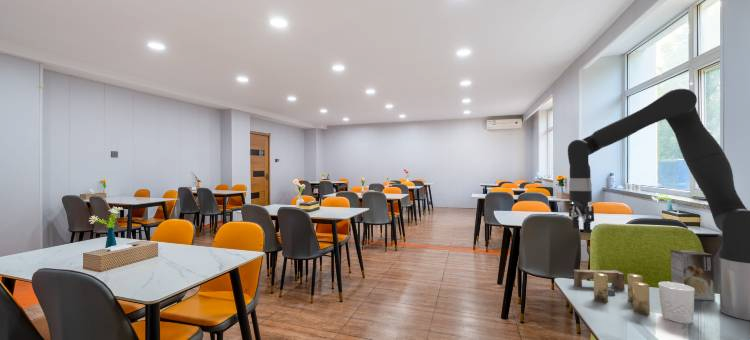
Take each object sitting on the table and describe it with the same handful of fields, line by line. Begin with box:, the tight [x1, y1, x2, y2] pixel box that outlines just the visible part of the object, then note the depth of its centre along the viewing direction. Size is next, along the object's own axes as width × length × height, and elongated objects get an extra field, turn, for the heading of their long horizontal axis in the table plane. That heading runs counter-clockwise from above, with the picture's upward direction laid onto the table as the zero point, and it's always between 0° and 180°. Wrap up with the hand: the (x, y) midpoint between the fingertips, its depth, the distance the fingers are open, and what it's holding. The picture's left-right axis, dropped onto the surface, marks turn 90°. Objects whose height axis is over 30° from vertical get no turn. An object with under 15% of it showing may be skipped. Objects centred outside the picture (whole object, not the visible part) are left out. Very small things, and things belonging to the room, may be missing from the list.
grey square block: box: [608, 286, 616, 296], centre depth 115 cm, size 4×4×2 cm
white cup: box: [658, 281, 695, 325], centre depth 94 cm, size 8×8×10 cm
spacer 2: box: [627, 273, 644, 304], centre depth 107 cm, size 4×4×9 cm
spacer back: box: [632, 282, 651, 316], centre depth 99 cm, size 4×4×9 cm
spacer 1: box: [593, 273, 609, 303], centre depth 109 cm, size 4×4×9 cm
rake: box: [573, 269, 625, 291], centre depth 122 cm, size 16×5×6 cm, turn 83°
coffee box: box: [670, 249, 716, 301], centre depth 112 cm, size 9×6×16 cm
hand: (581, 230), depth 123 cm, fingers open, 8 cm apart
